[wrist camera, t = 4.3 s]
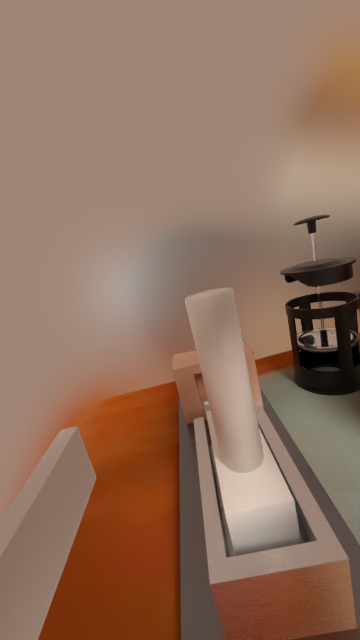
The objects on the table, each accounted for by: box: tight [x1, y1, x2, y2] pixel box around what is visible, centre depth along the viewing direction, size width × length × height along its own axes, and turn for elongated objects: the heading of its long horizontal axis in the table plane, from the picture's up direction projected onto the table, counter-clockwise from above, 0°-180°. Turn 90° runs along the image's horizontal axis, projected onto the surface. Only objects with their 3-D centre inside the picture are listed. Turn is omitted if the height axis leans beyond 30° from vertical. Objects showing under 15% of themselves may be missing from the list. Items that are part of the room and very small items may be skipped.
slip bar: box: [185, 288, 301, 556], centre depth 20 cm, size 4×12×16 cm, turn 0°
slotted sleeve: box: [179, 389, 360, 640], centre depth 26 cm, size 12×27×6 cm, turn 1°
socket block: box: [172, 339, 263, 424], centre depth 35 cm, size 10×5×8 cm, turn 91°
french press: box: [281, 215, 360, 395], centre depth 36 cm, size 12×9×23 cm
